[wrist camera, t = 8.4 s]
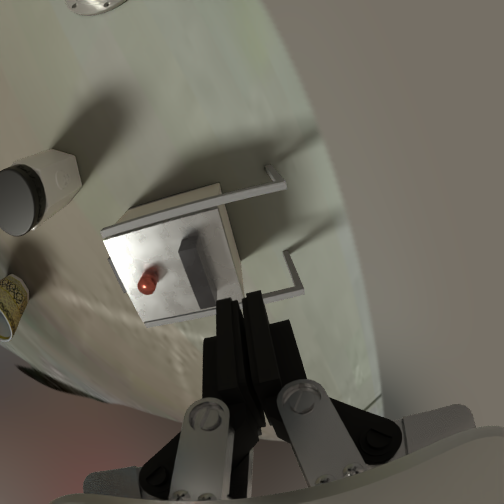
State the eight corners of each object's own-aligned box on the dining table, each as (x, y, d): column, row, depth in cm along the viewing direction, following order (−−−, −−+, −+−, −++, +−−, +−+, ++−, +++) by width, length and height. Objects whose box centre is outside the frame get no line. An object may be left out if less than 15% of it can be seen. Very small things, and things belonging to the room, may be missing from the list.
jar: (88, 199, 36) (45, 233, 25) (47, 211, 36) (2, 245, 25) (74, 140, 32) (23, 155, 21) (33, 156, 32) (-19, 177, 21)
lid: (106, 237, 29) (93, 252, 26) (217, 205, 29) (216, 218, 26) (144, 316, 34) (138, 336, 31) (243, 296, 34) (246, 316, 31)
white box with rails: (115, 207, 37) (86, 236, 28) (270, 164, 36) (285, 181, 27) (148, 287, 43) (133, 330, 34) (288, 255, 43) (304, 294, 34)
